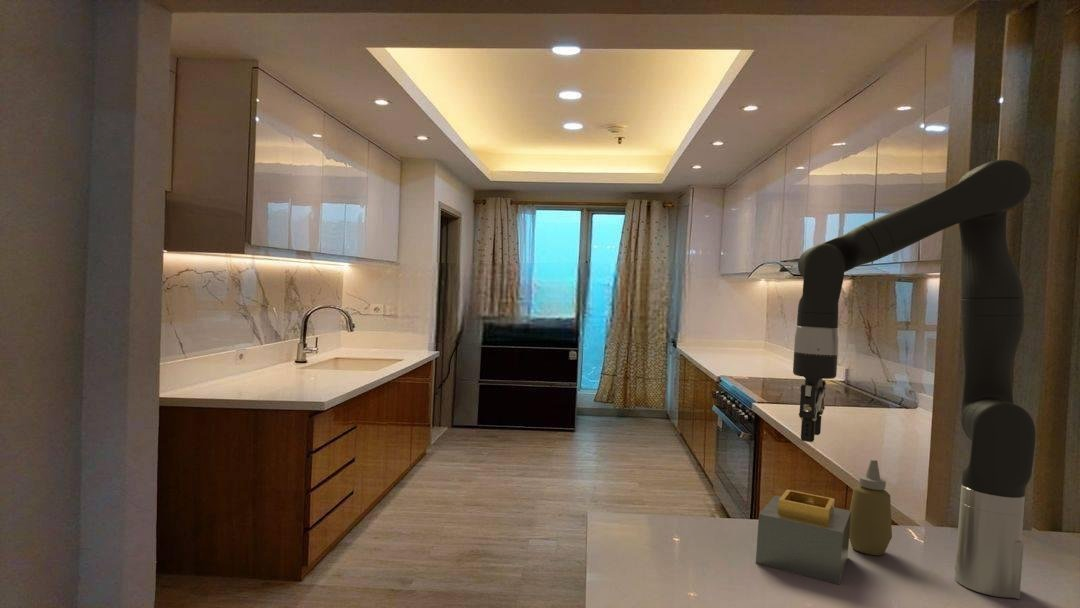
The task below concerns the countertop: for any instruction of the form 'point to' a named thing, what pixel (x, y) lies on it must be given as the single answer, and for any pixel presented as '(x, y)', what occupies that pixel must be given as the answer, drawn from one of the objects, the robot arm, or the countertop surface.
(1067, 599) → the countertop surface
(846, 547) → the grey boxy block
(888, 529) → the squeeze bottle
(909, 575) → the countertop surface
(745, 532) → the countertop surface
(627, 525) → the countertop surface
